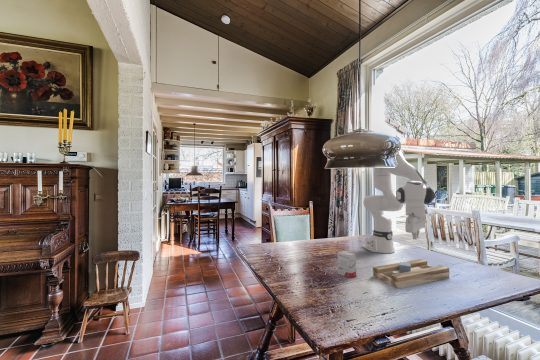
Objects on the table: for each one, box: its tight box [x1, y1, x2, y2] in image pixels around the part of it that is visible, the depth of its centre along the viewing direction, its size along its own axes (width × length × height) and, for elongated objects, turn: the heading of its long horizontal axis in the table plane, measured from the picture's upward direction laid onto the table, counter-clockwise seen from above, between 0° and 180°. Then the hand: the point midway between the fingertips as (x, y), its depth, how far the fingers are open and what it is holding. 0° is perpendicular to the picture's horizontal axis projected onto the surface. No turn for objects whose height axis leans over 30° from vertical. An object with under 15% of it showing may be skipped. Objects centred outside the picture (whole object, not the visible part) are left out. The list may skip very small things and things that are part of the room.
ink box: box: [336, 250, 357, 279], centre depth 135 cm, size 9×5×12 cm, turn 33°
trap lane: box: [372, 258, 450, 289], centre depth 131 cm, size 16×34×5 cm, turn 110°
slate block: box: [398, 261, 411, 273], centre depth 130 cm, size 5×5×4 cm
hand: (415, 238), depth 132 cm, fingers closed
